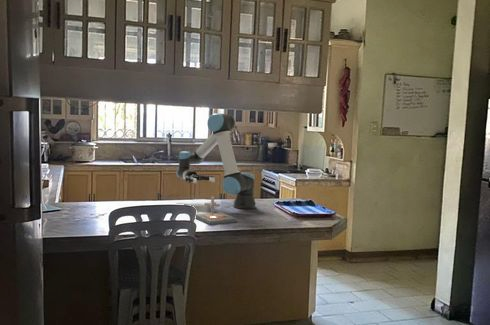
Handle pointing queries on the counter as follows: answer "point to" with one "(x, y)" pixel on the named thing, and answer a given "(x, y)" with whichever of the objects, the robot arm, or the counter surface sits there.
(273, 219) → the counter surface
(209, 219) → the plate
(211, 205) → the pipe connector
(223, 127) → the robot arm
